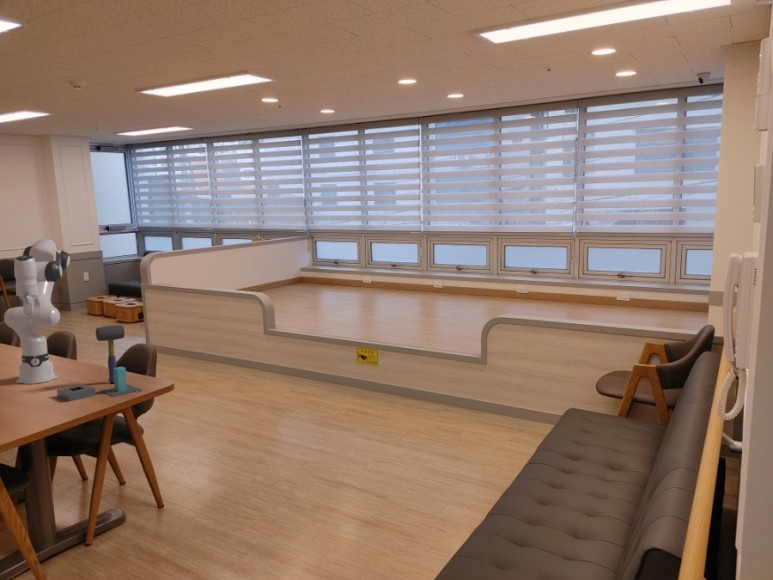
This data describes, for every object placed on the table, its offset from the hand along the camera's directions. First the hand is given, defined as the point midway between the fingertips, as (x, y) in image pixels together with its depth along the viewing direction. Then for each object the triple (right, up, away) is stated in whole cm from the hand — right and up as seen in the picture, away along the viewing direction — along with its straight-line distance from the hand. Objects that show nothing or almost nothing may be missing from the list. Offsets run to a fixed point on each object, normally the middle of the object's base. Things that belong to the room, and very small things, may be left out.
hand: (30, 321), depth 266 cm
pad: (+35, -35, +14) cm, 52 cm away
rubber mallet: (+25, -34, +29) cm, 51 cm away
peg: (+35, -34, +14) cm, 51 cm away
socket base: (+18, -36, +6) cm, 41 cm away
